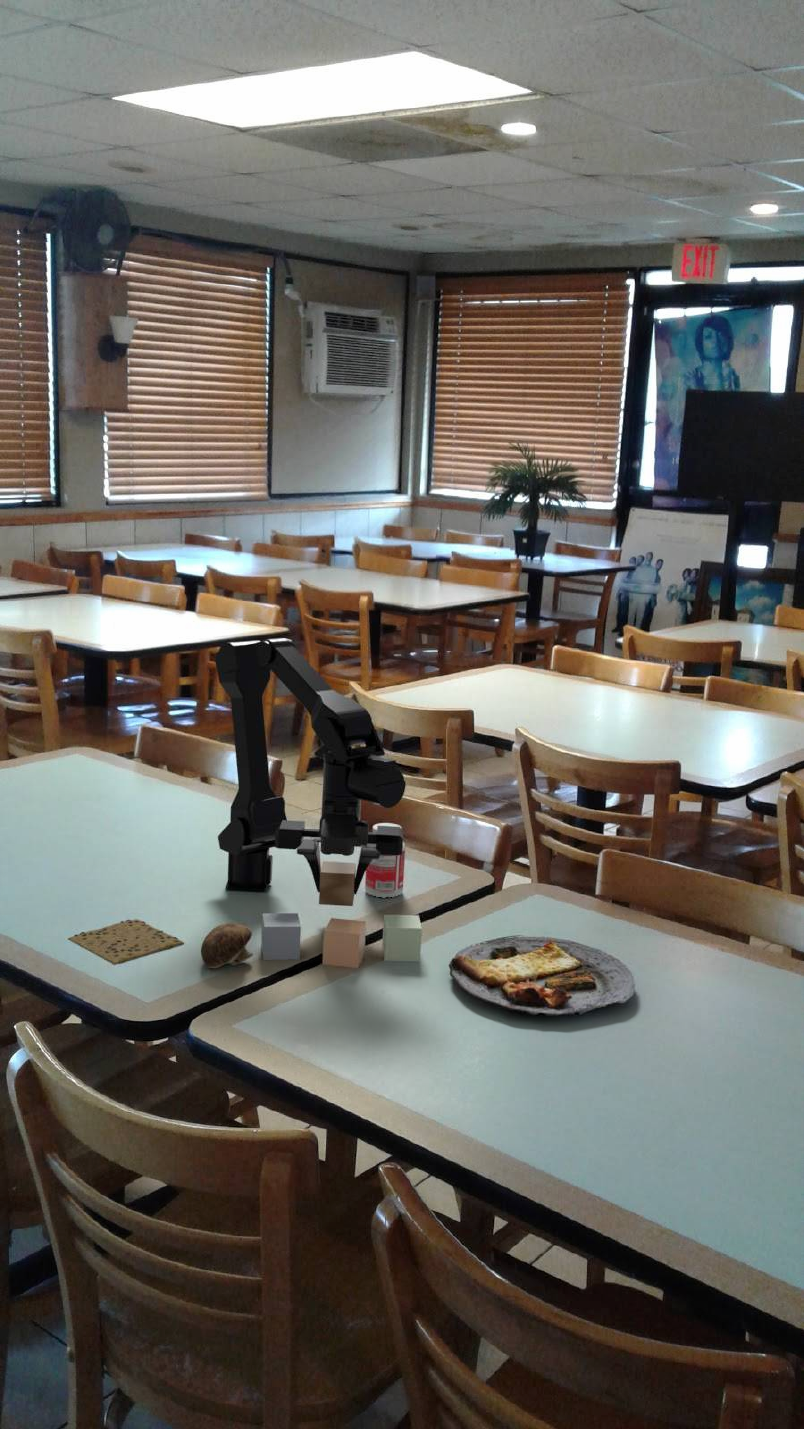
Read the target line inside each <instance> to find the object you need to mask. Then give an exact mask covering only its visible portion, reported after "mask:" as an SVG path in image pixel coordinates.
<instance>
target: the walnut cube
mask: <svg viewBox="0 0 804 1429" xmlns="http://www.w3.org/2000/svg"><path fill="white" fill-rule="evenodd" d="M356 864H357V863H356V862H343V861H342V862H340V861H327V860H326V861H325V860H323V861H322V864H321V871H320V891H319V892H318V894H319V896H318V905H321V906H323V905H324V906H325V905H326V906H338V907H339V906H340V907H341V906H343V907H353V906H354V899H355V894H354V882H355V876H356V871H357V865H356Z"/></svg>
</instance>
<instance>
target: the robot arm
mask: <svg viewBox="0 0 804 1429" xmlns="http://www.w3.org/2000/svg"><path fill="white" fill-rule="evenodd" d="M214 659H215V660H214V661H215V666H216V671H217V677H218V678H217V679H218V682H219V684H220V686H221V687H222V689H223V690H224V691H225V693H226V695H227V696H228V697H229V699H230V704H231V716H232V727H233V738H234V748H235V749H234V750H235V760H236V761H235V762H236V772H237V783H238V789H237V792H236V794H235V796H234V799H233V801H232V803H231V805H230V813H229V814H230V822H229V823H228V824H227V825H226V826H225V828H223V829H222V831H221V832H220V833H219V834H218V835H217V840H218V846H219V849H220V850H222V851H224V852H226V853H227V854H228V859H227V860H228V861H227V862H228V864H227V881H226V884H225V890H231V891H232V890H233V891H250V892H251V891H253V892H266V891H267V889H268V886H269V885H271V882H272V880H273V863H274V861H273V858H274V856H273V855H271V854H270V849H272V848H276V849H280V850H281V849H282V850H296V854H297V855H301V856H303V857H304V859H306V862H307V863H308V865H309V868H310V871H311V874H312V877H313V881H314V884H315V888H316V891H317V893H319V891H320V871H321V867H322V864H321V854H323V855H329V856H330V855H343V856H344V857H345V856H346V857H348V856H349V857H350V856H352V855H354V853H355V848H357V847H359V848H360V851H359V857H358V861H357V862H358V863H357V865H356V871H355V882H354V895H357V893H358V890H359V888H360V885H361V884H362V883H361V882H362V880H363V878H364V875H365V874H366V869H367V867H368V866H369V864H370V862H371V861H372V860H373V859H379V858H380V854H382V855H402V849H403V842H404V830H403V829H401V828H402V827H401V828H400V827H392V826H377V833H374V832H373V831H370V832H369V826H370V825H369V824H370V822H369V821H368V820H361V812H362V811H361V810H362V809H361V807H362V801H364V802H367V803H370V804H373V805H376V806H379V807H382V808H385V809H391V808H393V807H395V806H396V805H398V804H399V803H400V802H401V800H402V799H403V796H404V795H405V794H404V793H405V792H406V791H405V790H406V786H407V785H406V781H405V777H404V775H403V773H402V772H401V770H400V769H397V761H396V760H395V759H392V758H385V757H384V756H385V755H386V752H385V750H384V748H383V742H382V741H381V739H380V737H379V735H378V733H377V731H376V728H375V725H374V723H373V721H372V720H373V718H372V716H371V714H370V712H369V711H368V710H367V709H366V708H365V707H364V706H362V704H360V703H358V702H357V701H356V700H354V699H353V698H351V697H348V696H345V695H343V694H340V693H338V692H337V691H336V690H334V689H333V688H332V686H330V685H329V684H328V682H327V681H326V680H325V679H324V678H323V677H322V676H321V675H320V674H319V672H318V671H316V669H315V668H314V667H313V666H312V665H311V664H310V663H309V662H308V661H307V659H306V658H305V657H303V655H302V654H301V653H300V652H299V651H298V650H297V648H296V646H295V643H294V641H293V640H292V639H289V638H287V637H286V638H285V637H280V638H279V637H276V638H265V639H264V640H262V641H261V640H258V639H257V640H255V639H254V640H244V641H230V642H229V641H228V642H224V643H223V644H221V646H220V647H219V648H218V651H216V652H215V658H214ZM271 672H272V673H273V674H274V675H275V676H276V677H277V679H278V680H279V681H280V682H281V683H282V684H283V685H284V686H285V687H286V688H287V690H288V691H289V692H290V693H291V694H292V695H293V696H294V697H295V699H297V701H298V702H299V704H301V705H302V706H303V707H304V709H305V710H306V711H307V712H308V714H309V715H310V722H311V724H310V725H311V728H312V730H313V731H314V733H315V734H316V736H317V738H318V739H319V741H320V743H322V746H321V747H319V748H318V749H317V750H316V751H315V752H314V753H313V754H314V756H315V757H317V758H320V759H322V760H323V775H322V776H323V778H322V794H321V795H322V798H321V801H322V802H321V817H320V820H319V828H306V823H305V821H304V820H303V821H302V820H288V818H287V816H286V800H285V798H284V797H283V796H282V795H281V796H278V795H277V794H276V792H275V791H274V789H273V788H272V787H271V782H270V780H271V779H270V770H269V769H270V768H269V757H268V748H267V746H268V744H267V735H266V734H267V732H266V722H265V710H264V701H263V700H264V699H263V697H264V694H265V691H266V689H267V687H268V685H269V682H270V681H271V675H272V674H271ZM360 745H363V746H360ZM356 746H357V747H356ZM348 747H351V748H348ZM352 747H353V748H352ZM345 748H346V749H345Z"/></svg>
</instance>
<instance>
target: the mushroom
mask: <svg viewBox="0 0 804 1429" xmlns="http://www.w3.org/2000/svg"><path fill="white" fill-rule="evenodd" d="M252 936H253V931H252V929H251V928H249V927H248V926H245V925H244V924H241V923H239V924H238V923H233V922H228V923H224V924H221V925H217V926H216V927H214V928H212V929H211V930H210V932H209V933H208V934H207V935H206V936H205V937H204V939H203V942H202V944H201V948H200V953H201V954H200V955H201V959H202V962H203V964H204V966H206V967H207V968H209V969H218V968H220V967H222V966H224V965H226V964H231V965H232V966H236V965H239V964H241V963H243V962H245V961H246V960H248V959H250V958H251V957H253V956H254V953H252V952H250V951H248V949H246V946H247V944H248V943H249V942H250V940H251V939H252Z"/></svg>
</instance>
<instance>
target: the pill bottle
mask: <svg viewBox="0 0 804 1429" xmlns="http://www.w3.org/2000/svg"><path fill="white" fill-rule="evenodd" d="M377 826H392V827H400V828H401V829H402V828H403V827H402V826H401V825H400V824H397V823H396V824H395V823H392V822H391V823H390V822H381V823H380V822H379V823H376V824H374V825H373V826H372V832H374V833H377ZM402 830H403V829H402ZM405 858H406V845H405V842H404V841H403V849H402V855H382V854H380V858H379V859H373V860H372V861H371V862H370V864H369V866H368V867H367V869H366V871H365V881H364V882H365V884H364V890H365V892H366V894H367V895H370V896H371V895H372V896H371V897H374V896H376V897H375V898H378V897H382V898H381V899H387V898H386V897H389V898H388V899H391V898H390V897H392V898H396V897H398V895H399V896H400V895H402V894H403V891H404V877H405ZM395 896H396V897H395Z"/></svg>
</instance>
